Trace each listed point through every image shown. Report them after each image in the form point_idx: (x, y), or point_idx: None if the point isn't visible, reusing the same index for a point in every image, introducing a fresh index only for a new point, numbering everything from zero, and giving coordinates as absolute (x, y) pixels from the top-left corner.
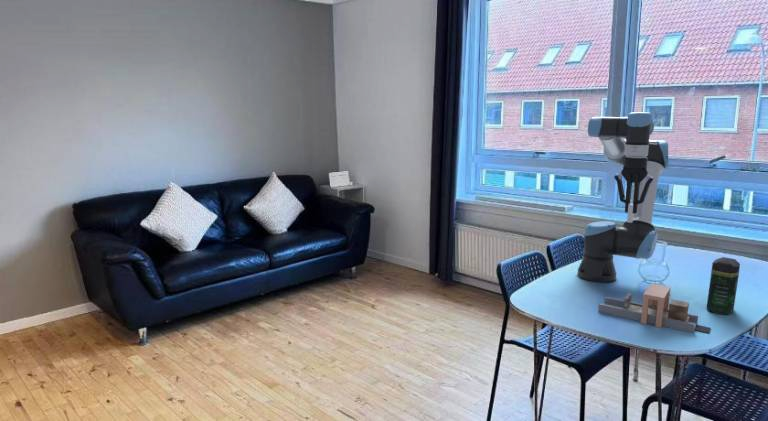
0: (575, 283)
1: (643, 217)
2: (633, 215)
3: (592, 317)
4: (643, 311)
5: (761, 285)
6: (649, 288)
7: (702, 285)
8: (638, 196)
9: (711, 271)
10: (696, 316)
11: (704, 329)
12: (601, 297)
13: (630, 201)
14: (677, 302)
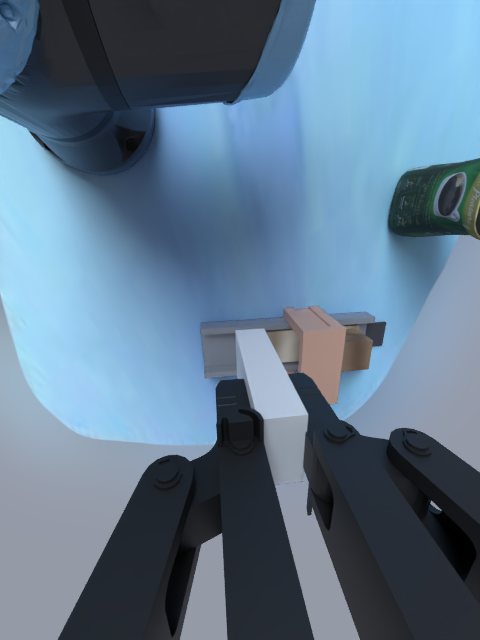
0: (80, 224)
1: None
2: (274, 352)
3: (206, 398)
4: None
5: None
6: (304, 367)
7: None
8: (412, 530)
9: (468, 221)
10: (371, 322)
11: (376, 336)
12: (180, 289)
13: (262, 432)
14: (352, 355)
